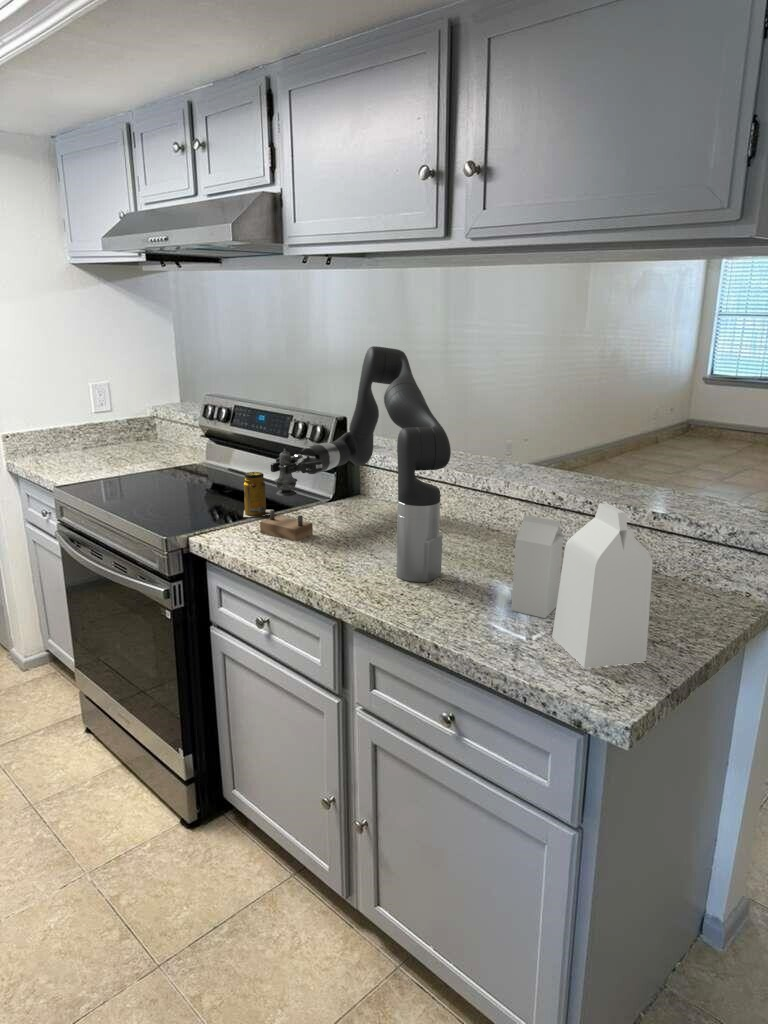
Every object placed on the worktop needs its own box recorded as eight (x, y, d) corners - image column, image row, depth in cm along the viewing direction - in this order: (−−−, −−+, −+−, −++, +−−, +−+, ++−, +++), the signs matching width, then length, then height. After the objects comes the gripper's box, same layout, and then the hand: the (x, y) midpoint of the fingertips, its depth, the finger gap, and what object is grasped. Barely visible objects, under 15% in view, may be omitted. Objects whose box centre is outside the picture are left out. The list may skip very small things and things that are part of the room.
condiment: (243, 511, 210) (242, 470, 207) (273, 510, 212) (272, 470, 209) (243, 517, 204) (241, 476, 200) (273, 517, 205) (272, 475, 202)
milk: (551, 638, 131) (563, 500, 124) (609, 633, 133) (623, 497, 126) (584, 669, 119) (599, 519, 112) (645, 663, 122) (664, 516, 115)
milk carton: (545, 619, 139) (553, 525, 134) (510, 611, 142) (517, 519, 137) (557, 607, 145) (565, 516, 140) (524, 599, 148) (530, 510, 143)
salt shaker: (286, 497, 183) (284, 451, 180) (270, 494, 186) (268, 448, 183) (302, 493, 188) (301, 447, 184) (286, 489, 191) (284, 445, 188)
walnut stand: (312, 534, 189) (312, 514, 188) (295, 540, 184) (295, 520, 182) (277, 526, 196) (277, 507, 194) (260, 532, 190) (259, 512, 188)
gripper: (299, 441, 199) (256, 451, 185) (340, 447, 192) (299, 458, 178) (300, 468, 201) (257, 479, 187) (340, 474, 194) (299, 487, 180)
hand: (278, 469), depth 183 cm, fingers closed on salt shaker, 3 cm apart
